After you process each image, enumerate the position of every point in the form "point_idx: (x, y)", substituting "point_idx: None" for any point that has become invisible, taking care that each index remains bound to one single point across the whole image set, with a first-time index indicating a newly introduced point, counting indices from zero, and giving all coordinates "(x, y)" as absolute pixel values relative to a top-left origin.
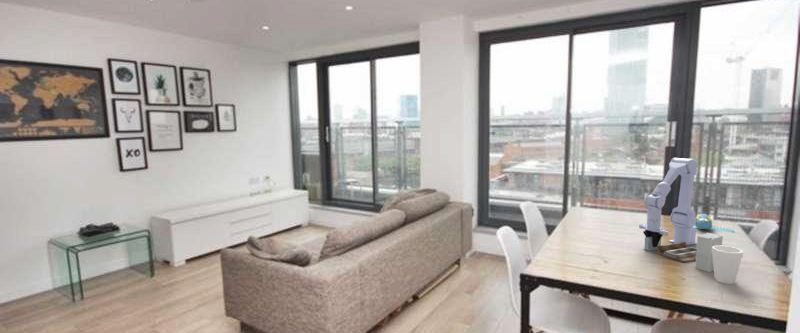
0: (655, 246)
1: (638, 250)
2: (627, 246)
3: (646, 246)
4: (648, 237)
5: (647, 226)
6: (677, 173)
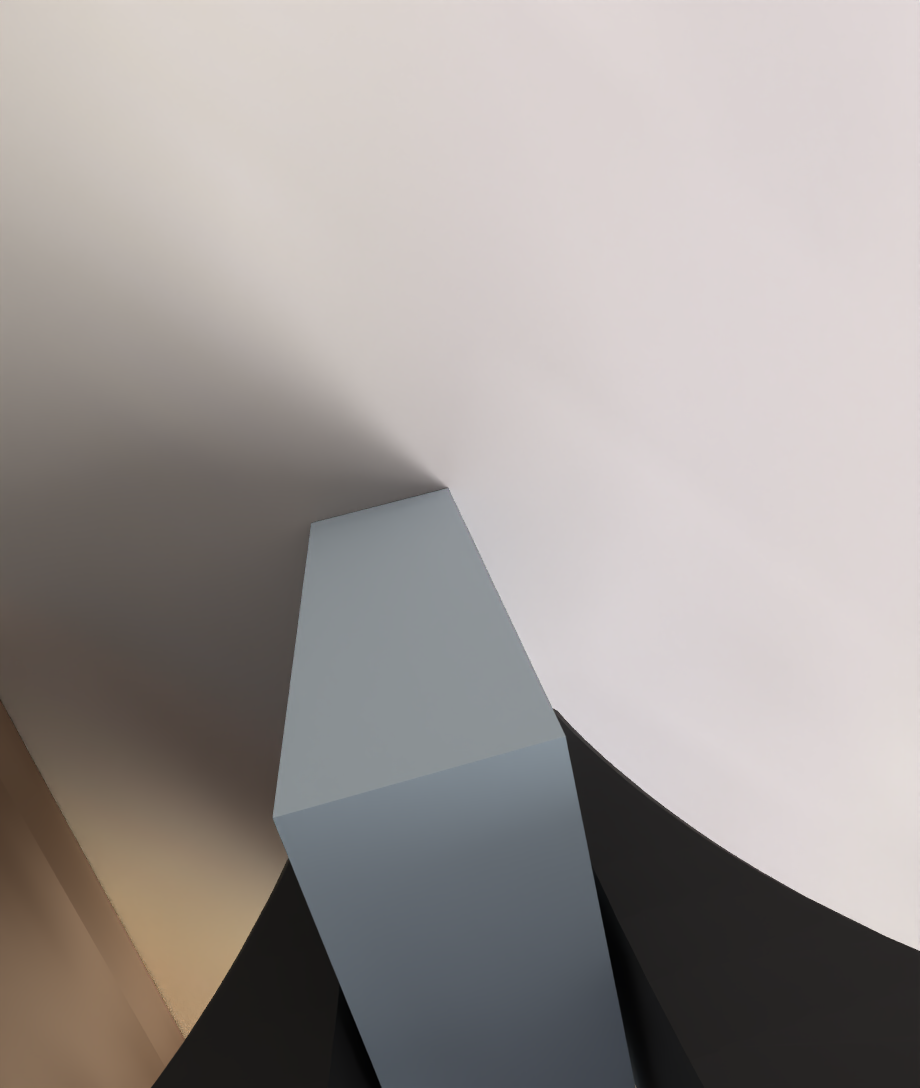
0: None
1: (337, 174)
2: (840, 59)
3: (380, 551)
4: (514, 924)
5: None
6: None
